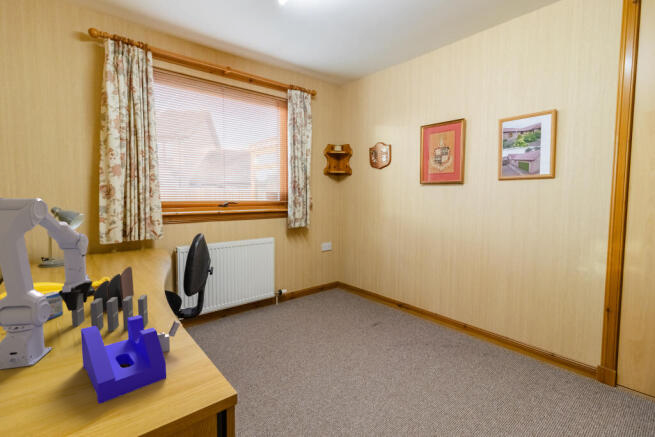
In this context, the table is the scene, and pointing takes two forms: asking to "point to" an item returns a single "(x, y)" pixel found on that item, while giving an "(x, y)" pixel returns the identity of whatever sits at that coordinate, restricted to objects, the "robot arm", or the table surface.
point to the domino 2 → (97, 313)
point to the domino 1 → (78, 312)
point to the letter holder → (116, 289)
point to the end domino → (143, 309)
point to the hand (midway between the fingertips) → (77, 306)
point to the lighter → (165, 338)
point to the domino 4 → (127, 310)
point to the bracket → (123, 360)
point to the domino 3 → (112, 314)
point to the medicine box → (54, 304)
